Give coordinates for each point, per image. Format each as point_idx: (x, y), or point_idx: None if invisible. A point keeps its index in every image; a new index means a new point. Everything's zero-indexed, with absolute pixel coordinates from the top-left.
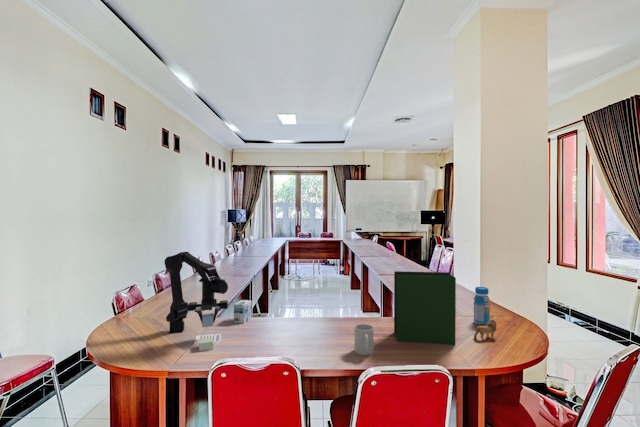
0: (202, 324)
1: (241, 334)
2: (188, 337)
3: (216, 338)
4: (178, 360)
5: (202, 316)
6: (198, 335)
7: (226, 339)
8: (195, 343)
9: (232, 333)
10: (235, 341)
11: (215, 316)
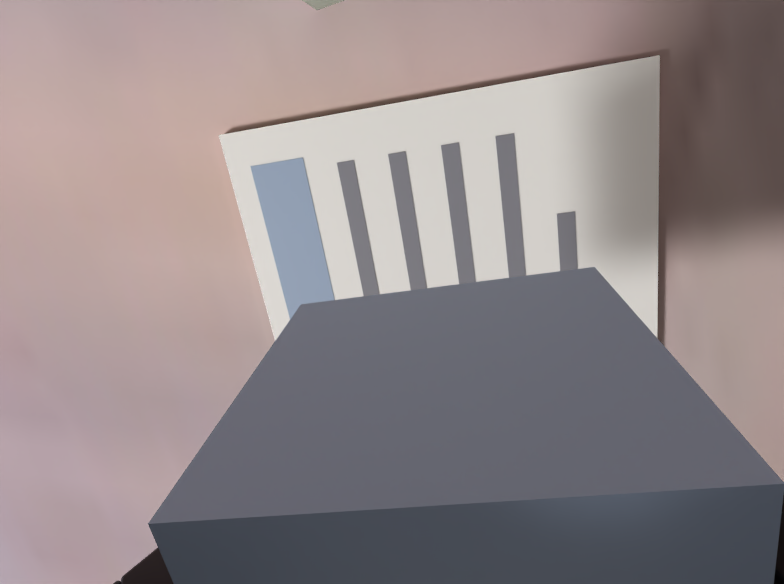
0: (612, 297)
1: (39, 408)
2: (777, 383)
3: (321, 276)
4: None
5: (773, 544)
6: None
7: (171, 250)
8: (632, 77)
9: (169, 453)
10: (8, 157)
11: (140, 582)
